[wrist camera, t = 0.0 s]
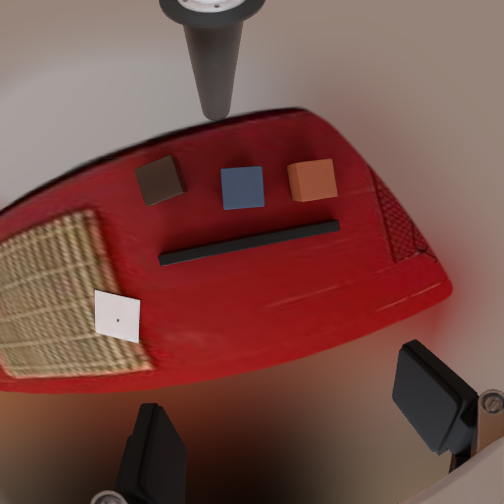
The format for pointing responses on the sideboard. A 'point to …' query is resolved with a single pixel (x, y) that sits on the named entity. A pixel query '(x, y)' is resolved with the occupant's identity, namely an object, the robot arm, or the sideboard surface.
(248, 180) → the slate blue block
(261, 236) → the rail
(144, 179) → the walnut block
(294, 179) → the terracotta block
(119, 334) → the coaster
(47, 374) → the sideboard surface
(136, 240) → the sideboard surface
